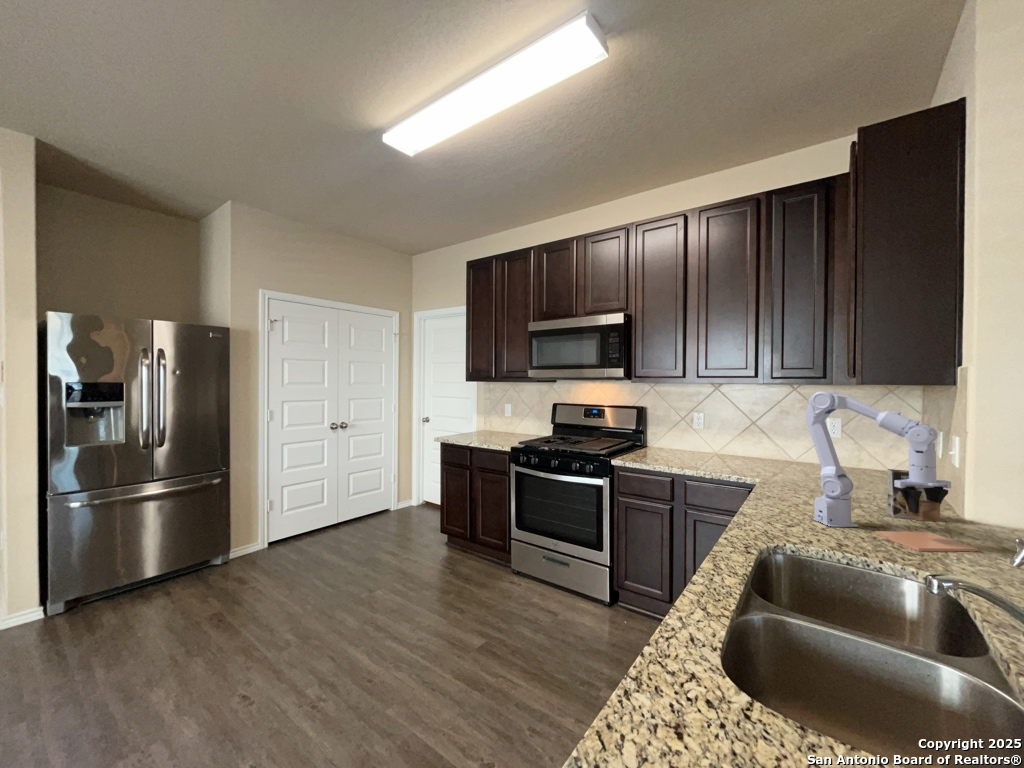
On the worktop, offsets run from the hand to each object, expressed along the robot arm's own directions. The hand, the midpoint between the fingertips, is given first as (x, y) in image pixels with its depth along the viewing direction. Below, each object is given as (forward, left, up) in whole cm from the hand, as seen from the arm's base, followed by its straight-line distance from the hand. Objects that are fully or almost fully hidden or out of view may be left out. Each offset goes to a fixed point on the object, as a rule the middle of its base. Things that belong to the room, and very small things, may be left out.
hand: (923, 512), depth 122 cm
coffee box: (+18, +25, -9) cm, 32 cm away
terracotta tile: (0, 0, -9) cm, 9 cm away
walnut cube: (0, 0, -2) cm, 2 cm away
